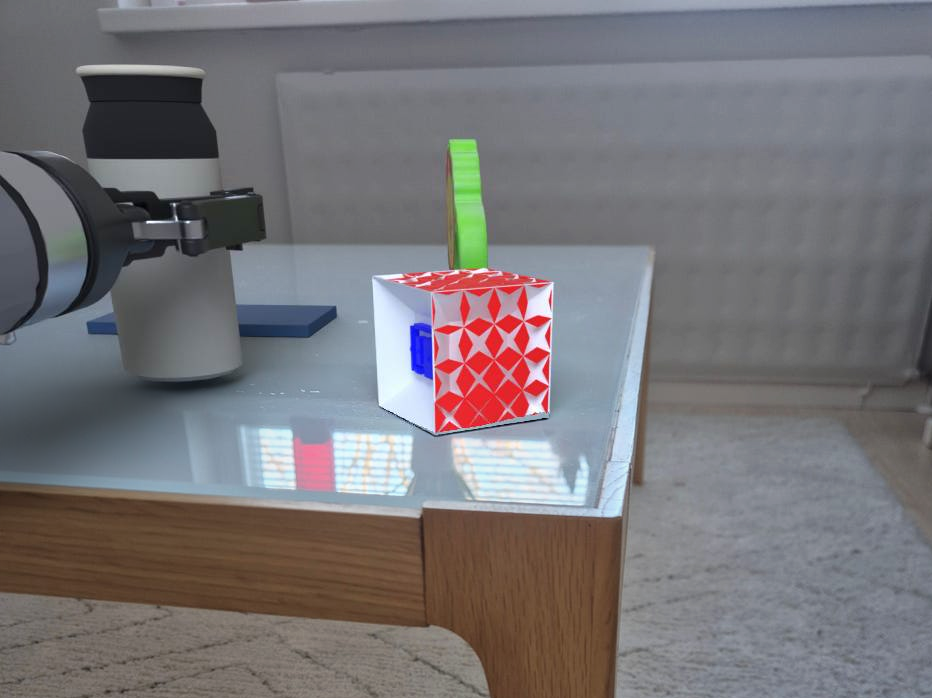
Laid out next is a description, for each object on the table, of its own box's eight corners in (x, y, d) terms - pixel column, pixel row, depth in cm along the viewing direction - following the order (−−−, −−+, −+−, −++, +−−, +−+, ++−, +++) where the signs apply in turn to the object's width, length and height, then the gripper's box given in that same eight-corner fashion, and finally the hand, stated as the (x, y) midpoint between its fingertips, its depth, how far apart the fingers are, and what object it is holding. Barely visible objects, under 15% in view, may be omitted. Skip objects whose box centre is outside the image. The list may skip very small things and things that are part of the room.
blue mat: (88, 333, 83) (85, 321, 83) (138, 313, 93) (136, 303, 93) (309, 337, 82) (308, 325, 81) (337, 316, 91) (336, 305, 91)
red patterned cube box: (549, 418, 58) (553, 281, 54) (435, 436, 54) (431, 291, 50) (484, 392, 64) (484, 267, 60) (378, 406, 60) (371, 275, 57)
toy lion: (509, 364, 72) (513, 138, 65) (438, 365, 71) (434, 138, 64) (488, 328, 86) (489, 139, 79) (429, 329, 85) (424, 139, 78)
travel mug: (228, 383, 62) (189, 64, 53) (108, 383, 62) (49, 63, 53) (253, 358, 69) (222, 72, 60) (145, 358, 69) (98, 72, 60)
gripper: (-163, 317, 47) (55, 264, 67) (238, 325, 46) (340, 268, 66) (-215, 150, 44) (32, 146, 64) (218, 151, 42) (333, 147, 62)
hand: (188, 208), depth 65 cm, fingers closed on travel mug, 8 cm apart
